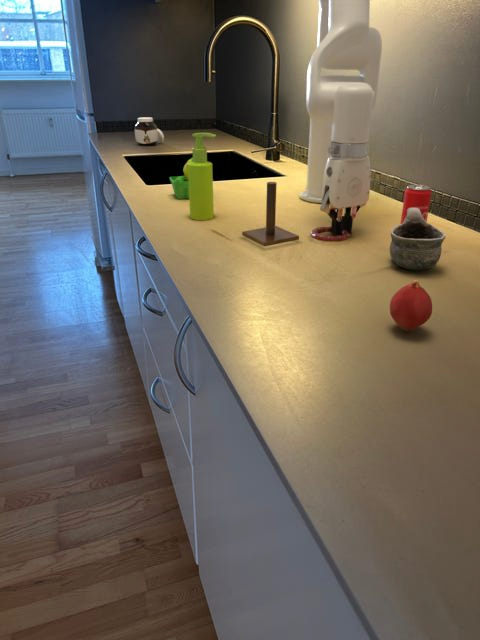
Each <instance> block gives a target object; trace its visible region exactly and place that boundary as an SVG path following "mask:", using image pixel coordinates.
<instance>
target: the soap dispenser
mask: <svg viewBox="0 0 480 640" xmlns="http://www.w3.org/2000/svg"><path fill="white" fill-rule="evenodd" d="M191 135H192V138H195V146H194V147H192V149H191V150H192V158H193V162H190V163H188V179H189V198H188V199H189V217H190V219H192V220H193V221H208V220H212V219H213V218H214V214H215V213H214V178H213V177H214V176H213V173H214V172H213V163H212V162H211V161H208V150H207V147H205V146H204V137H205V138H206V137H207V138H212V139H213V138H216V137H217V135H216V134H214V133H210V132H194V133H192V134H191Z"/></svg>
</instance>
